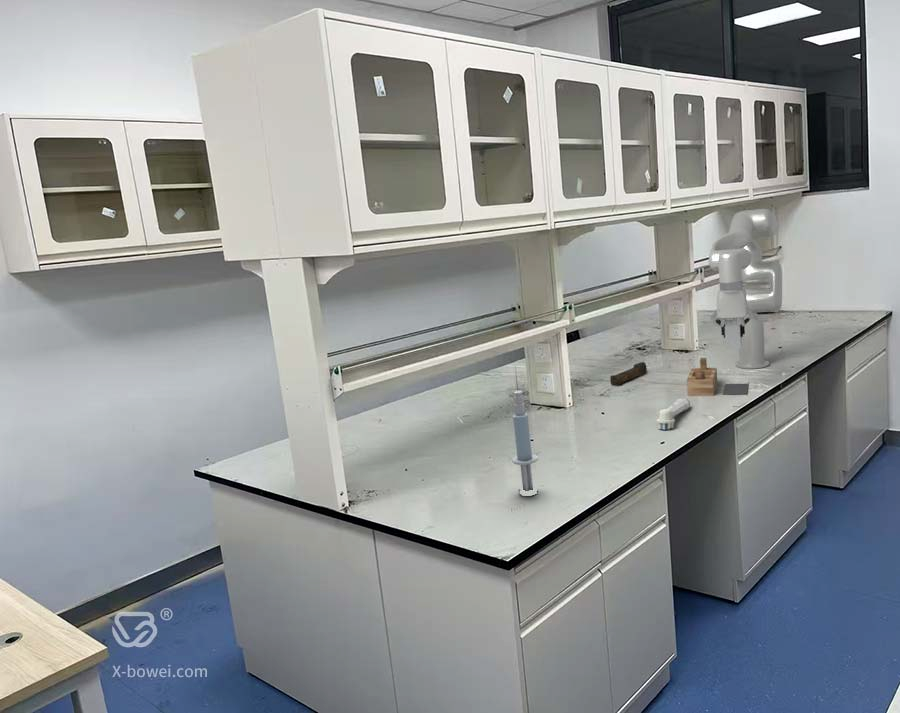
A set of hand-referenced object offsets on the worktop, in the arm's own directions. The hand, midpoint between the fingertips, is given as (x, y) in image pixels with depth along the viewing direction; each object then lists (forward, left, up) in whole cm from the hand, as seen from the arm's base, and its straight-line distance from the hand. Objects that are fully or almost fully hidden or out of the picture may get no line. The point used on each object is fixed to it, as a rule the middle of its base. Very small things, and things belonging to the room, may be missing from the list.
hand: (733, 336), depth 256 cm
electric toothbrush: (+36, -17, -21) cm, 45 cm away
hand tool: (-18, -42, -20) cm, 49 cm away
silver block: (0, 0, -4) cm, 4 cm away
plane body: (-1, -12, -20) cm, 23 cm away
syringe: (+102, -47, -20) cm, 114 cm away
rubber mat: (0, 0, -20) cm, 20 cm away
